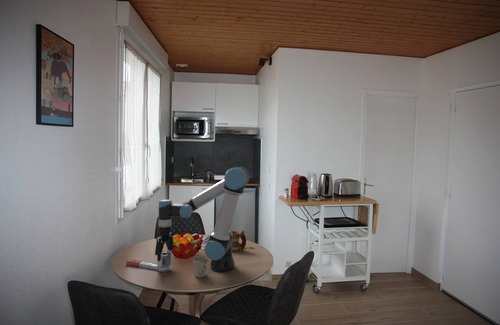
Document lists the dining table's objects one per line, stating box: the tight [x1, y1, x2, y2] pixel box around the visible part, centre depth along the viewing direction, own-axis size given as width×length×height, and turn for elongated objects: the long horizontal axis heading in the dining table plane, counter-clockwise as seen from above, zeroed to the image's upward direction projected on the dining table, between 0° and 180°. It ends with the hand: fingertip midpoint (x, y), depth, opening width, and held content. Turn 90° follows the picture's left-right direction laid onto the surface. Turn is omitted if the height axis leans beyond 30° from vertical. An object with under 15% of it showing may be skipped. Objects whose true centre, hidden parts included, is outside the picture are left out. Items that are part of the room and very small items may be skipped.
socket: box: [156, 251, 172, 268], centre depth 190 cm, size 6×6×7 cm
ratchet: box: [125, 258, 171, 274], centre depth 194 cm, size 30×7×8 cm, turn 71°
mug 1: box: [192, 255, 211, 278], centre depth 183 cm, size 8×13×10 cm, turn 51°
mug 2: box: [230, 230, 247, 253], centre depth 231 cm, size 11×16×15 cm, turn 72°
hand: (164, 263), depth 190 cm, fingers open, 8 cm apart
